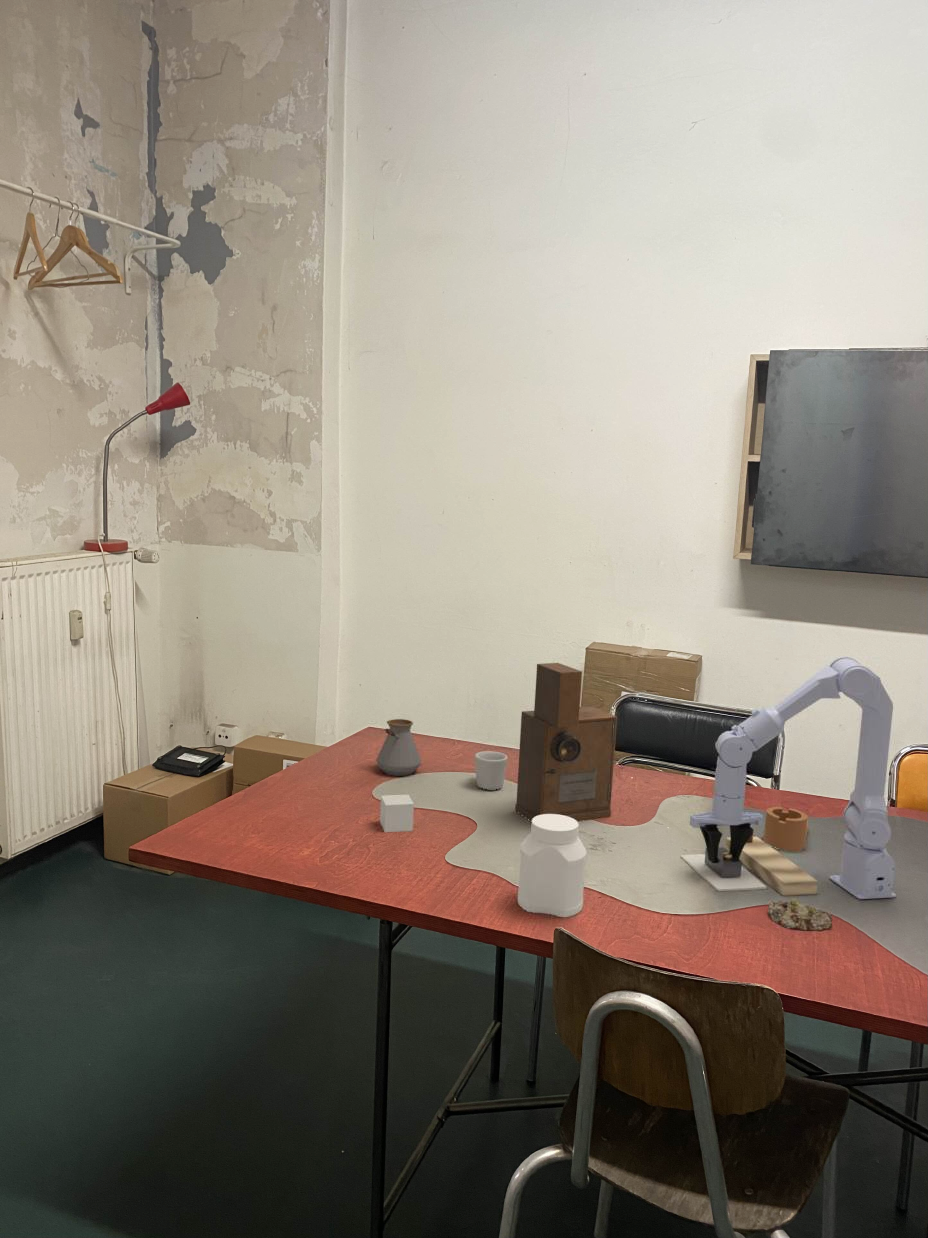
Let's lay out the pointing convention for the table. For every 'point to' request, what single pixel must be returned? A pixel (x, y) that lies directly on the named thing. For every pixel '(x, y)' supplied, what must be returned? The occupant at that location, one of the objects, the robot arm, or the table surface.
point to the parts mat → (723, 883)
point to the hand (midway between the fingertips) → (723, 860)
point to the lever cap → (725, 863)
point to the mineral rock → (799, 915)
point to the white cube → (396, 813)
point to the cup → (490, 769)
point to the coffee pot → (399, 749)
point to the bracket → (786, 828)
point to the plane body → (775, 868)
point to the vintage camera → (565, 750)
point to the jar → (552, 867)
